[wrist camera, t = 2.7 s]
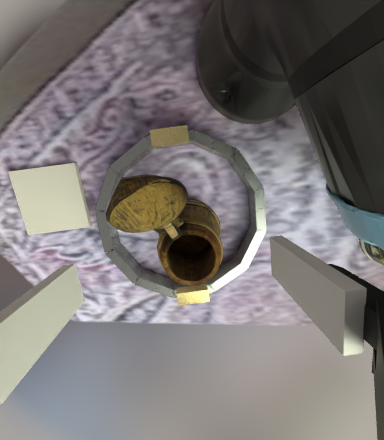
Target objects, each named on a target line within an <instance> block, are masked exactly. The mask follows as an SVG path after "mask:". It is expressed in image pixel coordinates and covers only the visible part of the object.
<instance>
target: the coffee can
mask: <svg viewBox="0 0 384 440" xmlns="http://www.w3.org/2000/svg"><path fill="white" fill-rule="evenodd" d="M360 243H361V247H362V250H363V252H364V253H365V255H366V256H367V257H368V258H370V259H371V260H373V261H375V262H377V263H380V264H383V265H384V250H382V249H381V248H380V247H378V246H374V245H371V244H369V243H366V242H364V241H363V240H361V239H360Z"/></svg>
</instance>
